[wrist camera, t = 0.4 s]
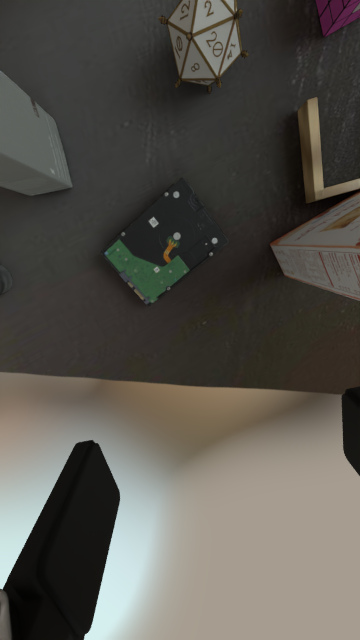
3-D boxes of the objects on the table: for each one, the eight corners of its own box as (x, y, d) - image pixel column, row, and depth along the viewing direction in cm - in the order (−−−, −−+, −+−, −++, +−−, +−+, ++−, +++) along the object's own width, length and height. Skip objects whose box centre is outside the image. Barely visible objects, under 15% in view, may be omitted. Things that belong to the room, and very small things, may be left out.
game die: (214, 78, 32) (281, 44, 25) (175, 122, 31) (233, 99, 24) (179, -20, 26) (254, -103, 19) (129, 31, 25) (189, -37, 18)
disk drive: (181, 179, 33) (104, 252, 36) (181, 174, 30) (98, 253, 33) (226, 241, 35) (151, 304, 38) (230, 241, 33) (149, 309, 36)
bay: (297, 110, 30) (306, 99, 28) (396, 80, 30) (415, 66, 27) (305, 203, 34) (315, 201, 31) (395, 178, 33) (411, 174, 30)
